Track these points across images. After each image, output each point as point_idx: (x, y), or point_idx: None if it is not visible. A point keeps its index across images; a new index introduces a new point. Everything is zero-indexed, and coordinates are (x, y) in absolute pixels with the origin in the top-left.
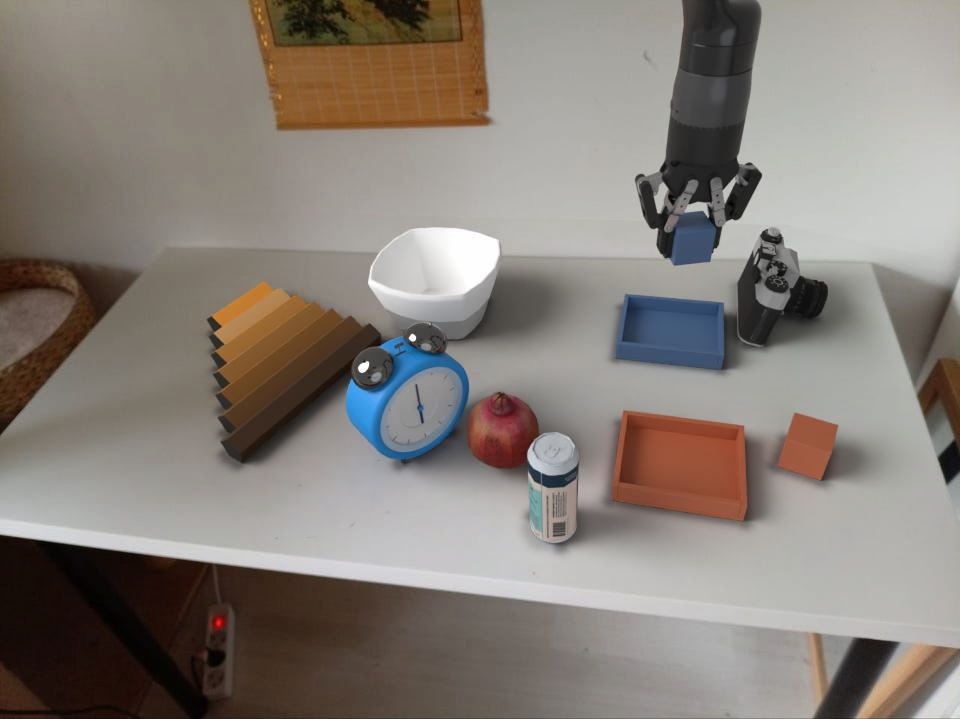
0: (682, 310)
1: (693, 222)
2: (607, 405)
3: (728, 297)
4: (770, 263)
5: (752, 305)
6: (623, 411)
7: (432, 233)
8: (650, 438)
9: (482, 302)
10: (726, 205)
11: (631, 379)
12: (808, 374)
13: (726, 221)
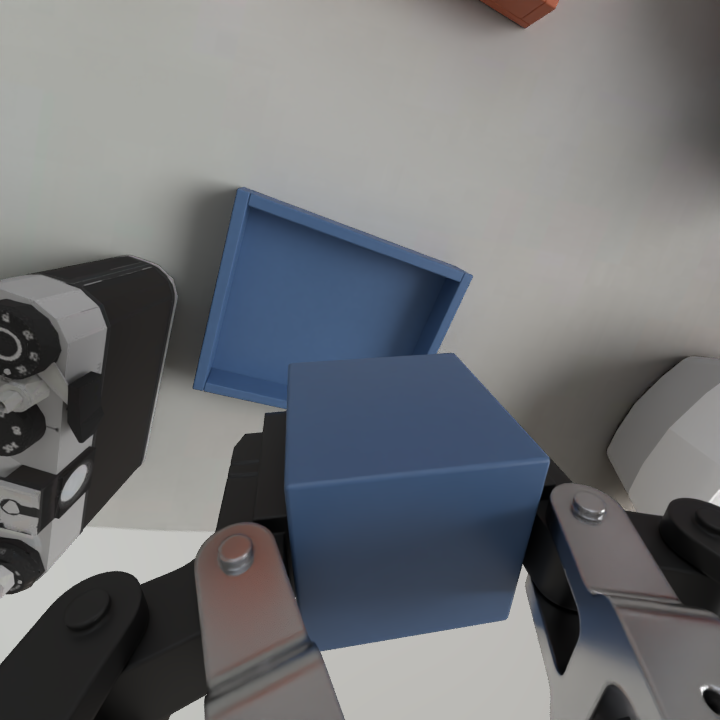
0: (284, 387)
1: (406, 558)
2: (527, 111)
3: (170, 428)
4: (21, 439)
5: (124, 322)
6: (557, 2)
7: None
8: None
9: (707, 405)
10: (159, 712)
11: (448, 192)
12: (11, 125)
13: (184, 566)
